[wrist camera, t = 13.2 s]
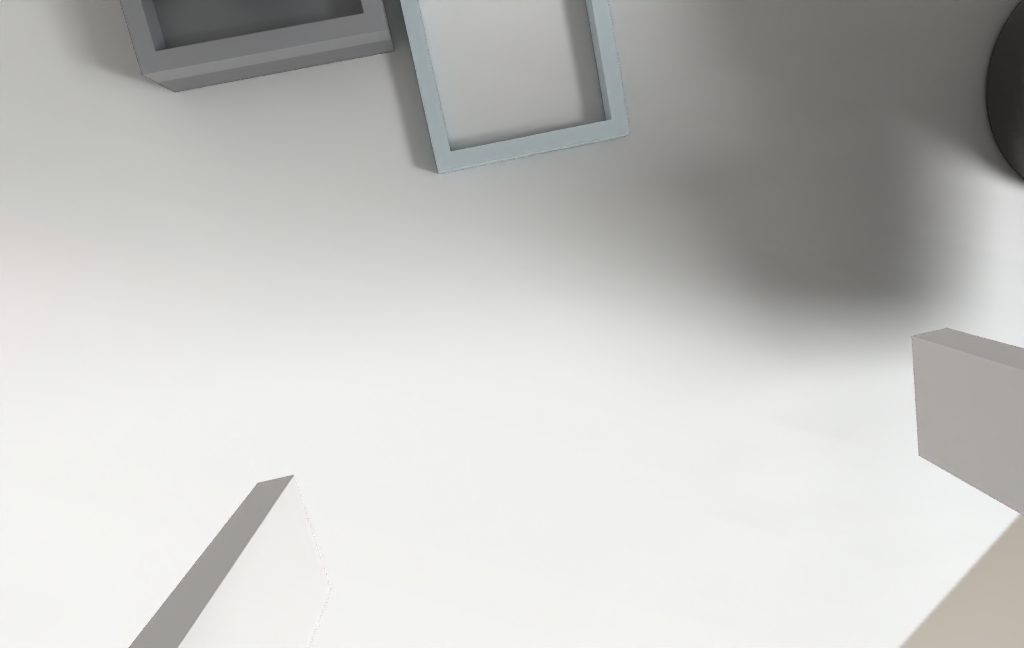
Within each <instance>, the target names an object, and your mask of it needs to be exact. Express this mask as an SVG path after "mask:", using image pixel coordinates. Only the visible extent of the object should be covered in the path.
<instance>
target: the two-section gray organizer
mask: <svg viewBox="0 0 1024 648" xmlns="http://www.w3.org/2000/svg"><path fill="white" fill-rule="evenodd" d="M120 2H121V5H122V9H123V12H124V16H125V19H126V22H127V26H128V29H129V33H130V36H131V39H132V43H133V46H134V50H135V53H136V56H137V60H138V63H139V66H140V70H141V73H142V75H143V76H145V77H147V78H149V79H151V80H153V81H155V82H157V83H159V84H160V85H162V86H164V87H166V88H168V89H170V90H172V91H174V92H178V91H184V90H189V89H194V88H200V87H205V86H210V85H216V84H221V83H226V82H232V81H237V80H242V79H248V78H253V77H258V76H264V75H269V74H274V73H280V72H285V71H290V70H296V69H301V68H306V67H312V66H317V65H322V64H328V63H333V62H338V61H344V60H349V59H354V58H360V57H365V56H370V55H376V54H381V53H386V52H392V51H394V47H393V43H392V39H391V34H390V30H389V25H388V21H387V16H386V12H385V8H384V3H383V0H120Z"/></svg>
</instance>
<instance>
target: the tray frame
mask: <svg viewBox="0 0 1024 648" xmlns="http://www.w3.org/2000/svg"><path fill="white" fill-rule="evenodd" d="M400 2H401V7H402V11H403V16H404V20H405V25H406V30H407V34H408V39H409V43H410V48H411V52H412V57H413V61H414V66H415V70H416V75H417V79H418V84H419V88H420V93H421V97H422V102H423V106H424V111H425V115H426V120H427V124H428V129H429V134H430V138H431V143H432V147H433V152H434V156H435V161H436V165H437V170H438V173H439V174H441V173H446V172H451V171H456V170H461V169H466V168H471V167H476V166H480V165H485V164H490V163H495V162H500V161H505V160H510V159H515V158H520V157H525V156H530V155H535V154H540V153H545V152H550V151H555V150H560V149H565V148H570V147H575V146H580V145H585V144H590V143H594V142H599V141H604V140H609V139H614V138H619V137H624V136H626V135H628V134H629V133H630V127H629V121H628V115H627V109H626V103H625V97H624V91H623V85H622V79H621V73H620V67H619V61H618V55H617V49H616V43H615V37H614V31H613V25H612V19H611V13H610V7H609V1H608V0H586V6H587V11H588V17H589V23H590V29H591V35H592V40H593V46H594V52H595V58H596V64H597V69H598V75H599V81H600V87H601V93H602V98H603V104H604V110H605V116H606V120H605V121H600V122H595V123H590V124H585V125H580V126H575V127H570V128H565V129H560V130H555V131H550V132H545V133H540V134H535V135H530V136H525V137H520V138H515V139H510V140H505V141H500V142H495V143H490V144H485V145H480V146H475V147H470V148H465V149H460V150H455V151H450V146H449V142H448V137H447V132H446V128H445V123H444V119H443V114H442V109H441V105H440V100H439V95H438V91H437V86H436V82H435V77H434V72H433V68H432V63H431V58H430V54H429V49H428V45H427V40H426V35H425V31H424V26H423V22H422V17H421V12H420V8H419V3H418V0H400Z"/></svg>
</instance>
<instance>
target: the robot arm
mask: <svg viewBox="0 0 1024 648" xmlns="http://www.w3.org/2000/svg"><path fill="white" fill-rule="evenodd" d="M987 104H988V113H989V118H990V123H991V127H992V130H993V133H994V136H995V139H996V141H997V143H998V145H999V147H1000V149H1001V151H1002V153H1003V155H1004V156H1005V158H1006V159H1007V160H1008V162H1009V163H1010V164H1011V166H1012V167H1013V168H1014V169H1015V170H1016V171H1017V172H1018V173H1019V174H1020V175H1021V176H1022V177H1024V0H1022V1H1021V2H1020V3H1019V5H1018V6H1017V7H1016V8H1015V10H1014V11H1013V13H1012V14H1011V16H1010V17H1009V19H1008V21H1007V22H1006V24H1005V26H1004V28H1003V30H1002V32H1001V34H1000V36H999V38H998V41H997V43H996V46H995V49H994V52H993V55H992V59H991V63H990V68H989V74H988V84H987ZM912 352H913V369H914V385H915V402H916V419H917V436H918V452H919V456H921V457H922V458H924V459H926V460H928V461H929V462H931V463H933V464H935V465H936V466H938V467H940V468H942V469H943V470H945V471H947V472H949V473H950V474H952V475H954V476H956V477H957V478H959V479H961V480H963V481H964V482H966V483H968V484H970V485H971V486H973V487H975V488H976V489H978V490H980V491H982V492H983V493H985V494H987V495H989V496H990V497H992V498H994V499H996V500H997V501H999V502H1001V503H1003V504H1004V505H1006V506H1008V507H1010V508H1011V509H1013V510H1015V511H1017V512H1018V513H1020V514H1022V515H1024V348H1020V347H1016V346H1012V345H1009V344H1005V343H1001V342H997V341H994V340H990V339H986V338H982V337H979V336H975V335H971V334H967V333H964V332H960V331H956V330H952V329H949V328H945V329H941V330H936V331H932V332H927V333H923V334H918V335H914V336H912ZM330 592H331V585H330V582H329V579H328V576H327V573H326V570H325V567H324V564H323V561H322V558H321V555H320V552H319V549H318V546H317V543H316V539H315V536H314V533H313V530H312V527H311V524H310V521H309V518H308V515H307V512H306V509H305V506H304V503H303V500H302V497H301V493H300V490H299V487H298V484H297V481H296V478H295V475H291V476H287V477H282V478H278V479H273V480H269V481H264V482H260V483H257V485H256V486H255V487H254V488H253V490H252V491H251V492H250V494H249V495H248V496H247V497H246V499H245V500H244V501H243V502H242V504H241V505H240V506H239V508H238V509H237V510H236V511H235V513H234V514H233V515H232V517H231V518H230V519H229V520H228V522H227V523H226V524H225V525H224V527H223V528H222V529H221V531H220V532H219V533H218V534H217V536H216V537H215V538H214V539H213V541H212V542H211V543H210V545H209V546H208V547H207V548H206V550H205V551H204V552H203V553H202V555H201V556H200V557H199V559H198V560H197V561H196V562H195V564H194V565H193V566H192V568H191V569H190V570H189V571H188V573H187V574H186V575H185V576H184V578H183V579H182V580H181V582H180V583H179V584H178V585H177V587H176V588H175V589H174V590H173V592H172V593H171V594H170V596H169V597H168V598H167V599H166V601H165V602H164V603H163V605H162V606H161V607H160V608H159V610H158V611H157V612H156V613H155V615H154V616H153V617H152V619H151V620H150V621H149V622H148V624H147V625H146V626H145V627H144V629H143V630H142V631H141V633H140V634H139V635H138V636H137V638H136V639H135V640H134V641H133V643H132V644H131V645H130V647H129V648H310V645H311V642H312V640H313V637H314V634H315V632H316V629H317V627H318V624H319V621H320V619H321V616H322V613H323V611H324V608H325V605H326V603H327V600H328V597H329V595H330Z"/></svg>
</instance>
